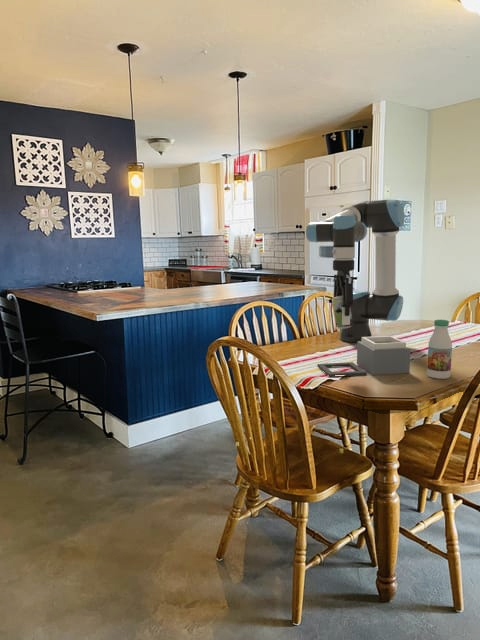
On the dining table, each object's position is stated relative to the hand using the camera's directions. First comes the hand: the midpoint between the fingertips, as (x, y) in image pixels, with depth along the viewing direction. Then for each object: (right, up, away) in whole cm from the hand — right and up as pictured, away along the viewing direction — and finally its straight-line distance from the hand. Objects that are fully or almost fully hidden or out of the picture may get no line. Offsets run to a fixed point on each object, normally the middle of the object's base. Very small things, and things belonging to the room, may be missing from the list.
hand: (342, 322), depth 172 cm
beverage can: (0, -2, 0) cm, 2 cm away
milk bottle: (+33, -19, -6) cm, 38 cm away
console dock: (+16, -17, +5) cm, 24 cm away
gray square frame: (0, -18, +3) cm, 18 cm away
